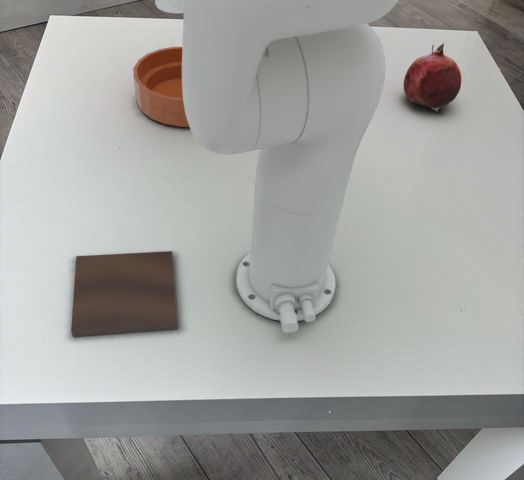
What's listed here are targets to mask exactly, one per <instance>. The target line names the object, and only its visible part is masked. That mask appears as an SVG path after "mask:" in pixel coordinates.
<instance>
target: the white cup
mask: <svg viewBox="0 0 524 480" xmlns="http://www.w3.org/2000/svg"><path fill="white" fill-rule="evenodd" d="M154 4H155V6H156V8H157V9H158V10H160V11H161V12H164V13H169V14H184V0H154Z"/></svg>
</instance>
